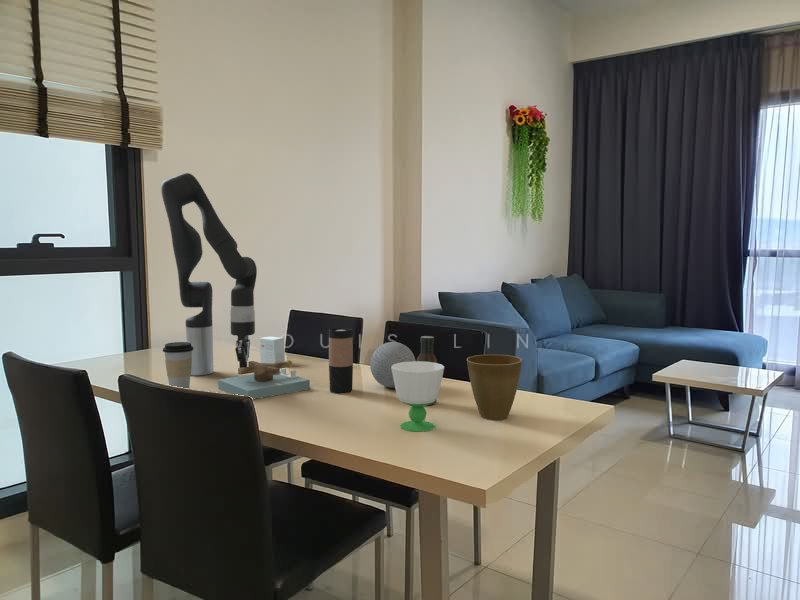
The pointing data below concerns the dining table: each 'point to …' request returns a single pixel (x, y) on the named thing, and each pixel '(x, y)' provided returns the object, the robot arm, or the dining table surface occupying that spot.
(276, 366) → the capstan
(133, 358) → the dining table surface
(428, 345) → the sauce bottle
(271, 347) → the small box
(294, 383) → the stand
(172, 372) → the coffee cup
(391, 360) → the decorative ball
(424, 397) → the cup
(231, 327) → the robot arm
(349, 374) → the travel mug
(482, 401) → the plant pot
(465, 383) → the dining table surface
